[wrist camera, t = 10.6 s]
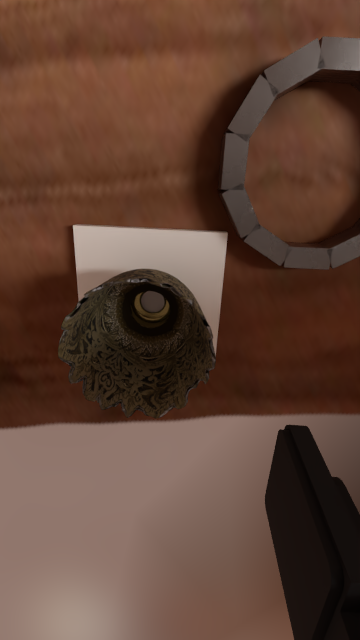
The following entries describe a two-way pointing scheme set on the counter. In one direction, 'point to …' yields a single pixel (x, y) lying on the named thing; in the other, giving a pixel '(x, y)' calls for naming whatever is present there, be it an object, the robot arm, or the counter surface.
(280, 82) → the stone ring
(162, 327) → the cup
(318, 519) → the robot arm
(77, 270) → the stone coaster
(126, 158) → the counter surface
